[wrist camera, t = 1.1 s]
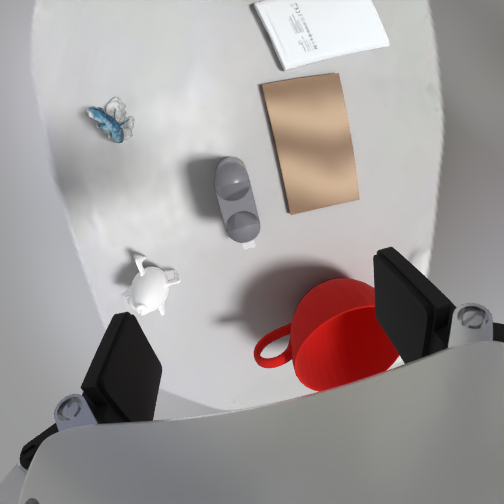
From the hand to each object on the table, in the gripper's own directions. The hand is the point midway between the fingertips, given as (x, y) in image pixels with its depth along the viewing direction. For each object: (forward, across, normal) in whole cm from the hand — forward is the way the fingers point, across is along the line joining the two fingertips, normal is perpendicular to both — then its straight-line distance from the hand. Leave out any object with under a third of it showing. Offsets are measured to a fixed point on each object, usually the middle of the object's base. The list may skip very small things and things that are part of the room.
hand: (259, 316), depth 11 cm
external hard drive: (+22, -13, -16) cm, 30 cm away
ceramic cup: (+23, -6, +17) cm, 29 cm away
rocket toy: (+23, +12, +8) cm, 27 cm away
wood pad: (+22, -9, -3) cm, 24 cm away
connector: (+22, 0, 0) cm, 22 cm away
